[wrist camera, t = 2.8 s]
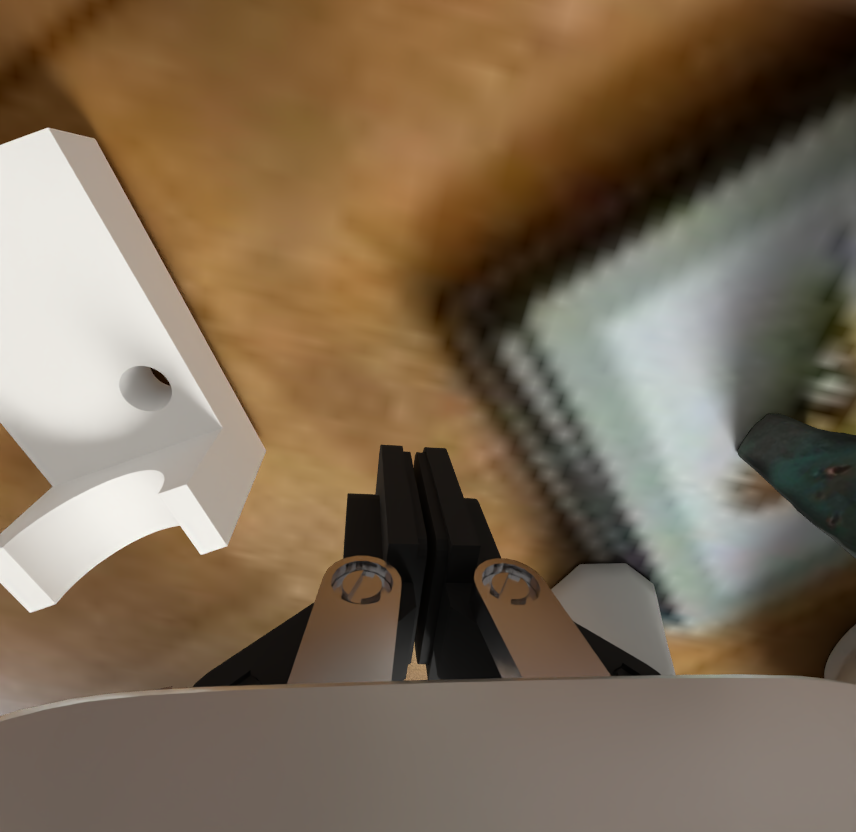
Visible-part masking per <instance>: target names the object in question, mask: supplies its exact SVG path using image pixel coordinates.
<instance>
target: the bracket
mask: <svg viewBox="0 0 856 832" xmlns="http://www.w3.org/2000/svg"><path fill="white" fill-rule="evenodd" d="M150 367H151V368H153V369H155V370H157V371H159V372H160V373H162V374H163V375H164V376H165V377H166V378H167V380H168V381H169V383H170V385H171V386H169V385H166V384H164V383H162V382H160V381H159V380H158V379H157V378H156V377H155V376H154V375H153V373H152V371H151V369H150ZM0 423H1V424H2V425H3V426H4V428H5V429H6V430H7V431H8V432H9V434H10V435H11V436H12V437H13V438H14V440H15V441H16V442H17V443H18V445H19V446H20V447H21V448H22V449H23V451H24V452H25V453H26V454H27V456H28V457H29V458H30V459H31V460H32V462H33V463H34V464H35V465H36V467H37V468H38V469H39V470H40V471H41V473H42V474H43V475H44V476H45V478H46V479H47V480H48V481H49V482H50V484H51V485H52V486H53V487H52V488H51V489H49V490H48V491H47V492H46V493H45V494H44V495H43V496H42V497H41V498H39V499H38V500H37V501H36V502H35V503H34V504H33V505H32V506H31V507H29V508H28V509H27V510H26V511H25V512H24V513H23V514H22V515H21V516H19V517H18V518H17V519H16V520H15V521H14V522H13V523H12V524H11V525H9V526H8V527H7V528H6V529H5V530H4V531H3V532H2V533H1V534H0V583H1V584H2V585H3V586H4V587H5V588H6V589H7V590H8V591H9V592H10V593H11V594H12V595H13V596H14V597H15V598H16V599H17V600H18V601H19V602H20V603H21V604H22V605H23V606H24V607H25V608H26V609H27V610H28V611H29V612H30V613H31V612H34V611H37V610H40V609H43V608H46V607H49V606H52V605H55V604H56V603H57V602H58V601H59V600H60V599H61V597H62V596H63V595H64V594H65V593H66V592H67V591H68V590H69V589H70V588H71V587H72V586H73V585H74V584H75V583H76V582H77V581H78V580H79V579H80V578H82V577H83V576H84V575H85V574H86V573H87V572H89V571H90V570H91V569H92V568H94V567H95V566H96V565H98V564H99V563H100V562H102V561H103V560H104V559H106V558H107V557H109V556H110V555H112V554H113V553H115V552H117V551H118V550H120V549H121V548H123V547H125V546H127V545H128V544H130V543H132V542H134V541H136V540H138V539H140V538H142V537H144V536H147V535H149V534H151V533H154V532H156V531H159V530H162V529H166V528H169V527H174V526H181V528H182V529H183V530H184V532H185V533H186V535H187V536H188V538H189V539H190V540H191V542H192V543H193V545H194V546H195V548H196V549H197V550H198V552H199V553H200V555H202V554H205V553H208V552H211V551H214V550H217V549H220V548H223V547H226V546H228V543H229V541H230V538H231V536H232V533H233V531H234V529H235V526H236V524H237V521H238V519H239V516H240V514H241V511H242V509H243V506H244V504H245V502H246V499H247V497H248V494H249V492H250V489H251V487H252V484H253V482H254V480H255V477H256V475H257V472H258V470H259V467H260V465H261V462H262V460H263V457H264V455H265V453H266V449H265V448H264V446H263V444H262V442H261V440H260V439H259V437H258V435H257V433H256V431H255V429H254V428H253V426H252V424H251V422H250V420H249V418H248V417H247V415H246V413H245V411H244V409H243V408H242V406H241V404H240V402H239V400H238V398H237V397H236V395H235V393H234V391H233V389H232V387H231V386H230V384H229V382H228V380H227V378H226V377H225V375H224V373H223V371H222V369H221V367H220V366H219V364H218V362H217V360H216V358H215V356H214V355H213V353H212V351H211V349H210V347H209V346H208V344H207V342H206V340H205V338H204V336H203V335H202V333H201V331H200V329H199V327H198V325H197V324H196V322H195V320H194V318H193V316H192V315H191V313H190V311H189V309H188V307H187V305H186V304H185V302H184V300H183V298H182V296H181V294H180V293H179V291H178V289H177V287H176V285H175V284H174V282H173V280H172V278H171V276H170V274H169V273H168V271H167V269H166V267H165V265H164V263H163V262H162V260H161V258H160V256H159V254H158V253H157V251H156V249H155V247H154V245H153V243H152V242H151V240H150V238H149V236H148V234H147V232H146V231H145V229H144V227H143V225H142V223H141V222H140V220H139V218H138V216H137V214H136V212H135V211H134V209H133V207H132V205H131V203H130V202H129V200H128V198H127V196H126V194H125V192H124V191H123V189H122V187H121V185H120V183H119V181H118V180H117V178H116V176H115V174H114V172H113V171H112V169H111V167H110V165H109V163H108V161H107V160H106V158H105V156H104V154H103V152H102V150H101V149H100V147H99V145H98V143H97V141H96V140H95V139H94V138H90V137H86V136H82V135H78V134H73V133H69V132H65V131H61V130H57V129H52V128H45V129H43V130H40V131H37V132H34V133H32V134H29V135H26V136H23V137H21V138H18V139H15V140H12V141H10V142H7V143H4V144H1V145H0Z"/></svg>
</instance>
